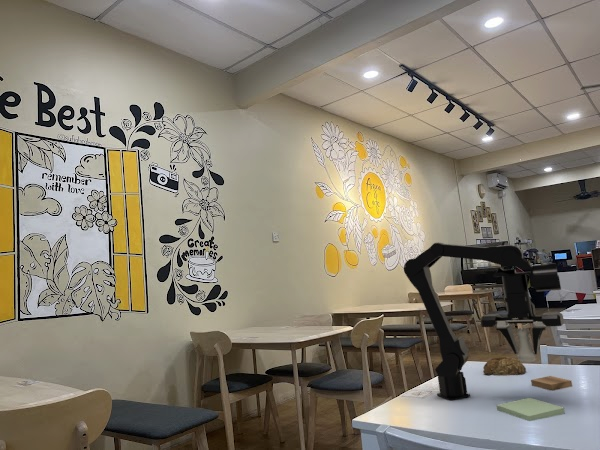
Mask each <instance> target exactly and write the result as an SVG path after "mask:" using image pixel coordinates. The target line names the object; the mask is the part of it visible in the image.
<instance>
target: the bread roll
mask: <svg viewBox="0 0 600 450" xmlns="http://www.w3.org/2000/svg"><path fill="white" fill-rule="evenodd" d="M483 365H484V366H483V370H482V371H483V373H484V375H488V376H501V377H502V376H503V377H504V376H522V375H524V374H526V367H525V365H524V364H523V362H521V361H519V360H518V359H517V358H512V357H509V356H497V357H494V358H491V359H489V360H488V361H486V363H485V364H483Z"/></svg>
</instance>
